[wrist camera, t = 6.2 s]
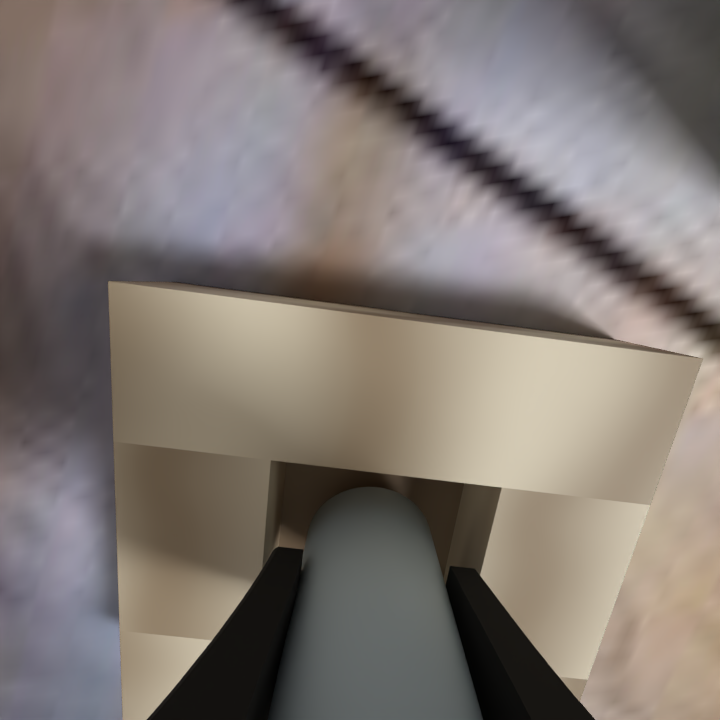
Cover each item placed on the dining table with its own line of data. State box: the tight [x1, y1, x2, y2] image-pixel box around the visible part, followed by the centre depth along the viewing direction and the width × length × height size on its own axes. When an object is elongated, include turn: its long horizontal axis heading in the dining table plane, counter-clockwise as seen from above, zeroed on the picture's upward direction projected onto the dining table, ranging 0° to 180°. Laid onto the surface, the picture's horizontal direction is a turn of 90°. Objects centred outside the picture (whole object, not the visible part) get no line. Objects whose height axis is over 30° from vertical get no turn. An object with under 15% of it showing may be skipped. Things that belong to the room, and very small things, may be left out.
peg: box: [268, 487, 483, 720], centre depth 7 cm, size 4×4×6 cm
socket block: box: [108, 281, 703, 720], centre depth 10 cm, size 13×13×3 cm
